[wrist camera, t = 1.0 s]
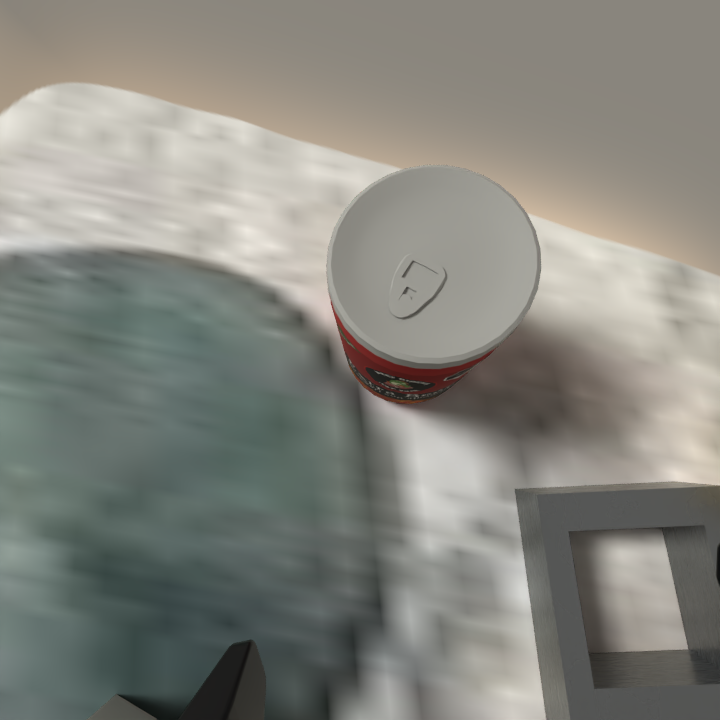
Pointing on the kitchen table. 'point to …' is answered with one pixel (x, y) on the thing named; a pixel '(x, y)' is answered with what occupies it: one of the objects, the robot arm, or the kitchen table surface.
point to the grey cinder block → (564, 616)
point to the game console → (120, 711)
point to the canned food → (429, 278)
